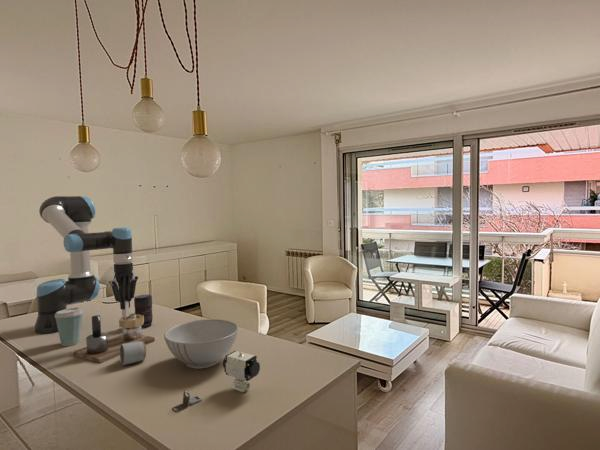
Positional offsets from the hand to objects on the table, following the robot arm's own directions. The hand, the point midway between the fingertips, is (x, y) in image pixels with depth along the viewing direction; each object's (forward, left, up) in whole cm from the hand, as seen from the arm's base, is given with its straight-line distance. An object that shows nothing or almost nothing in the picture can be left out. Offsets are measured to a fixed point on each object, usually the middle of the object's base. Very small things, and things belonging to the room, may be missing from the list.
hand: (125, 315), depth 162 cm
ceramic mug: (+22, -14, -11) cm, 28 cm away
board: (+4, -8, -11) cm, 14 cm away
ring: (+4, 0, -3) cm, 5 cm away
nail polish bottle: (+4, -16, -9) cm, 19 cm away
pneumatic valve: (+73, -13, -11) cm, 75 cm away
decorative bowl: (+47, -2, -11) cm, 48 cm away
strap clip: (+64, -28, -11) cm, 71 cm away
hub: (+4, 0, -9) cm, 10 cm away
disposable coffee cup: (-19, -13, -11) cm, 26 cm away
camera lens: (-9, +17, -11) cm, 22 cm away
